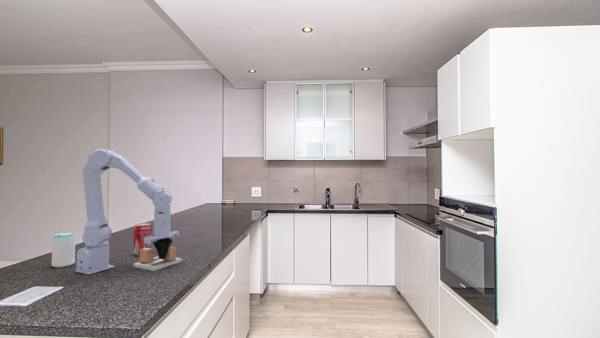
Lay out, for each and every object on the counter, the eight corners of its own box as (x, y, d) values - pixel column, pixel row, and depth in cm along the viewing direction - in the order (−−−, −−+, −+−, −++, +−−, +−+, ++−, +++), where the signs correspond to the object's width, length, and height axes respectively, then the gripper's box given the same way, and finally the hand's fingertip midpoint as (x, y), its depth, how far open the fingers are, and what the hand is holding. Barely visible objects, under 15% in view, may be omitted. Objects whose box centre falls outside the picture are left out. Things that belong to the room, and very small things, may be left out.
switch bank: (153, 271, 111) (153, 267, 111) (133, 266, 116) (133, 263, 116) (181, 261, 123) (181, 258, 123) (162, 258, 128) (162, 254, 128)
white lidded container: (62, 269, 114) (62, 236, 114) (46, 267, 115) (46, 235, 115) (79, 263, 120) (79, 232, 121) (64, 262, 122) (64, 231, 122)
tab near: (169, 260, 119) (169, 248, 119) (162, 259, 120) (162, 247, 120) (175, 258, 121) (175, 246, 121) (168, 257, 123) (168, 245, 123)
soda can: (155, 252, 137) (155, 222, 137) (145, 256, 130) (145, 225, 130) (140, 251, 138) (140, 222, 138) (129, 256, 131) (129, 225, 131)
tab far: (146, 262, 116) (146, 250, 116) (139, 261, 118) (139, 248, 118) (153, 260, 119) (153, 248, 119) (146, 259, 120) (146, 247, 120)
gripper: (153, 227, 110) (153, 265, 110) (184, 220, 123) (184, 255, 123) (140, 225, 113) (139, 262, 113) (172, 219, 126) (172, 253, 126)
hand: (162, 258), depth 118 cm, fingers closed
